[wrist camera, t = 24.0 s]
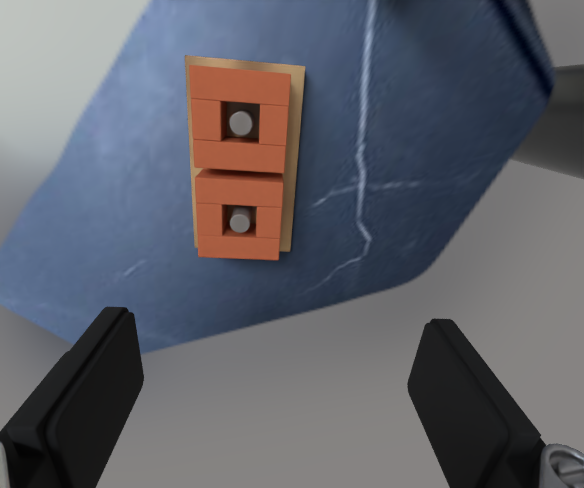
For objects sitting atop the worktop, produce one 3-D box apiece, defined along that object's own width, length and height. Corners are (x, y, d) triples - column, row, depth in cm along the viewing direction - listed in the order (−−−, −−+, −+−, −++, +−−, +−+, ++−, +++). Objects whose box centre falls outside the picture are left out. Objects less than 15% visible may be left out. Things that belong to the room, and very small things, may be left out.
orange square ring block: (282, 173, 25) (284, 182, 22) (278, 244, 27) (278, 260, 25) (202, 168, 24) (194, 177, 22) (205, 240, 27) (198, 257, 24)
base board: (303, 67, 23) (311, 61, 19) (289, 244, 29) (292, 272, 25) (189, 57, 23) (169, 48, 18) (198, 240, 28) (184, 268, 24)
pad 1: (288, 76, 22) (291, 73, 19) (283, 164, 25) (284, 173, 22) (199, 68, 22) (188, 64, 19) (202, 159, 24) (193, 167, 21)
